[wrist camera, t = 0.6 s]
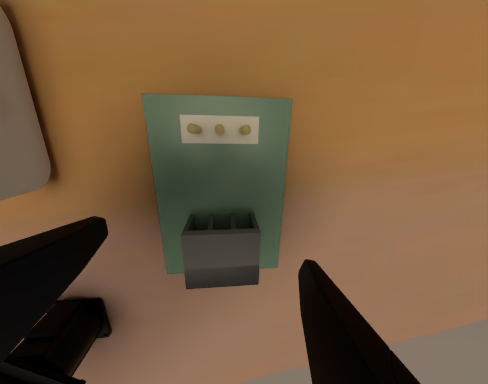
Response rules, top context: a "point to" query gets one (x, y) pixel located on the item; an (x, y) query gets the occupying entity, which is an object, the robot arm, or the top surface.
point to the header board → (218, 166)
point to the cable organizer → (18, 124)
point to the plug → (221, 254)
